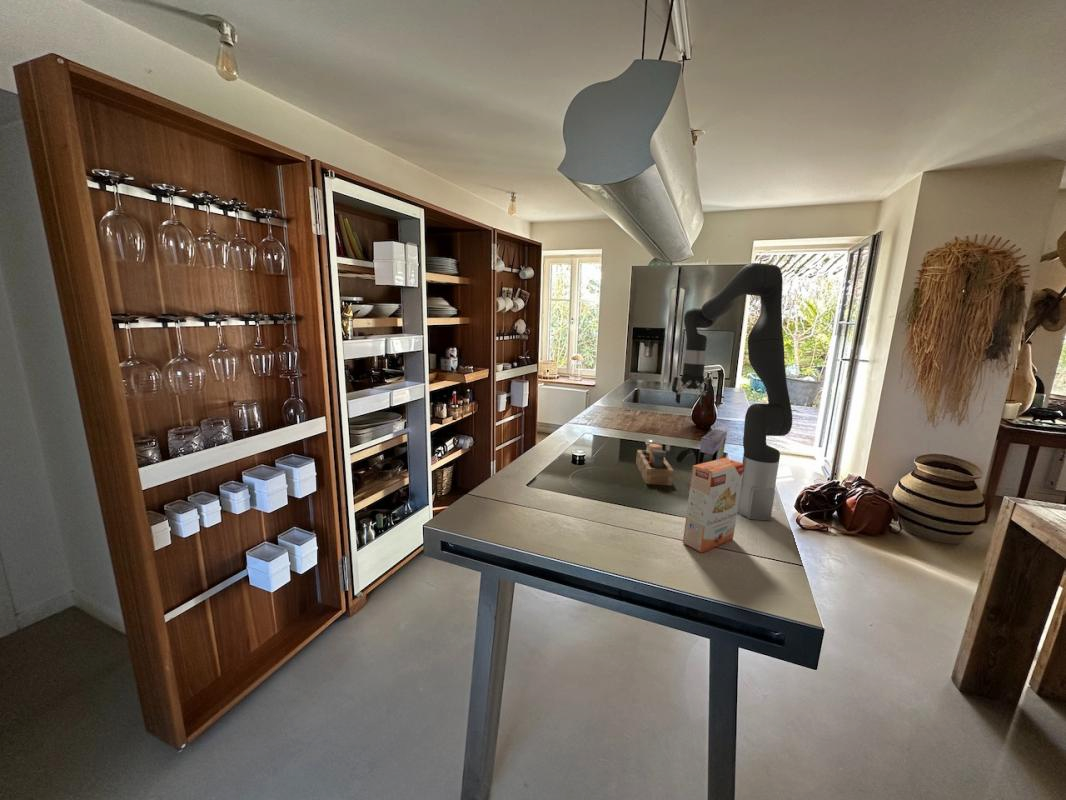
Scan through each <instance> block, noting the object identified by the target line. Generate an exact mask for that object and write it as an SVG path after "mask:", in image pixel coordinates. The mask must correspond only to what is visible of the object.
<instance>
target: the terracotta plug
mask: <svg viewBox="0 0 1066 800" xmlns="http://www.w3.org/2000/svg"><path fill="white" fill-rule="evenodd" d="M649 450H650V458H649V462H653V460H654V456H653V455H652V452H653V450H663V446H662V445H661V444H658V445H657V444H650V445H649Z"/></svg>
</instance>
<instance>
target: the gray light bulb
mask: <svg viewBox="0 0 1066 800" xmlns="http://www.w3.org/2000/svg"><path fill="white" fill-rule="evenodd" d="M652 455H653V456H654V460H653V468H659V469H663V462H664V457H665V458H666V457H667V451H665V450H663V449H662V450H653V452H652Z"/></svg>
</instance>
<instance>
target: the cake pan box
mask: <svg viewBox="0 0 1066 800" xmlns="http://www.w3.org/2000/svg"><path fill="white" fill-rule="evenodd" d="M727 433H728V430H727V429H722V428H717V427H715V428H714V429H712V430H711V431H709V432H707V434H705V435H704V436H702V437H701V440H700V446H699V447H700V448H699V452H698V453H699V454H698V461H697V464H701V463H706V462H710V461H714V460H718V459H722V458H724V452H725V447H726V440H727Z"/></svg>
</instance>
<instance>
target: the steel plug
mask: <svg viewBox="0 0 1066 800" xmlns="http://www.w3.org/2000/svg"><path fill="white" fill-rule="evenodd" d="M650 444H657V445H659V440H658V439H652V438H647V439H645V445H646V456H650V450H649V445H650Z"/></svg>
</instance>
